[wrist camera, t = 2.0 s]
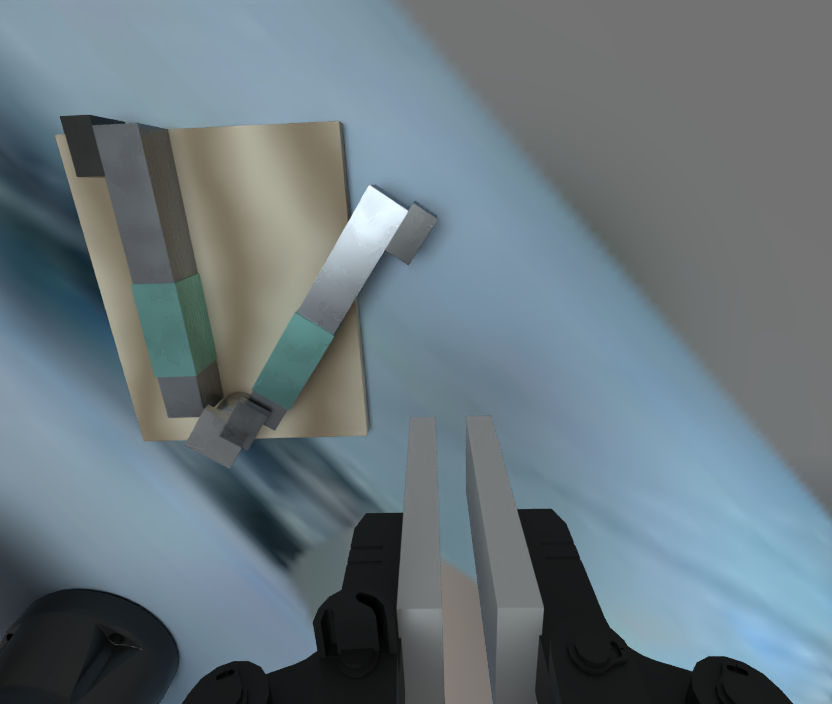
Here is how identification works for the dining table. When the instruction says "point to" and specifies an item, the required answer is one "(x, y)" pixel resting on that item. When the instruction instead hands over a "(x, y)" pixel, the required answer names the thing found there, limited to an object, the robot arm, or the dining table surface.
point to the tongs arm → (315, 322)
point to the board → (242, 266)
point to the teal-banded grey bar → (155, 256)
